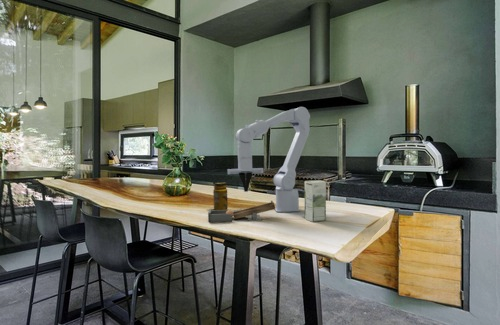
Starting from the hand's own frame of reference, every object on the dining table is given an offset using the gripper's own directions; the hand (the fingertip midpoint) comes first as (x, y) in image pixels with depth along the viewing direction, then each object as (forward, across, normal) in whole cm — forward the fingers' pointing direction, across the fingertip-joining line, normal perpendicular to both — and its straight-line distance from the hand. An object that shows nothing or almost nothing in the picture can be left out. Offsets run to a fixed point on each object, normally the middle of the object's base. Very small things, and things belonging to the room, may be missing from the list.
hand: (246, 191), depth 129 cm
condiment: (+9, +12, -9) cm, 17 cm away
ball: (+7, +7, +8) cm, 13 cm away
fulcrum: (+9, -2, +8) cm, 13 cm away
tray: (+9, +11, +9) cm, 16 cm away
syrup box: (+10, -24, +15) cm, 30 cm away
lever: (+7, -2, +5) cm, 9 cm away
